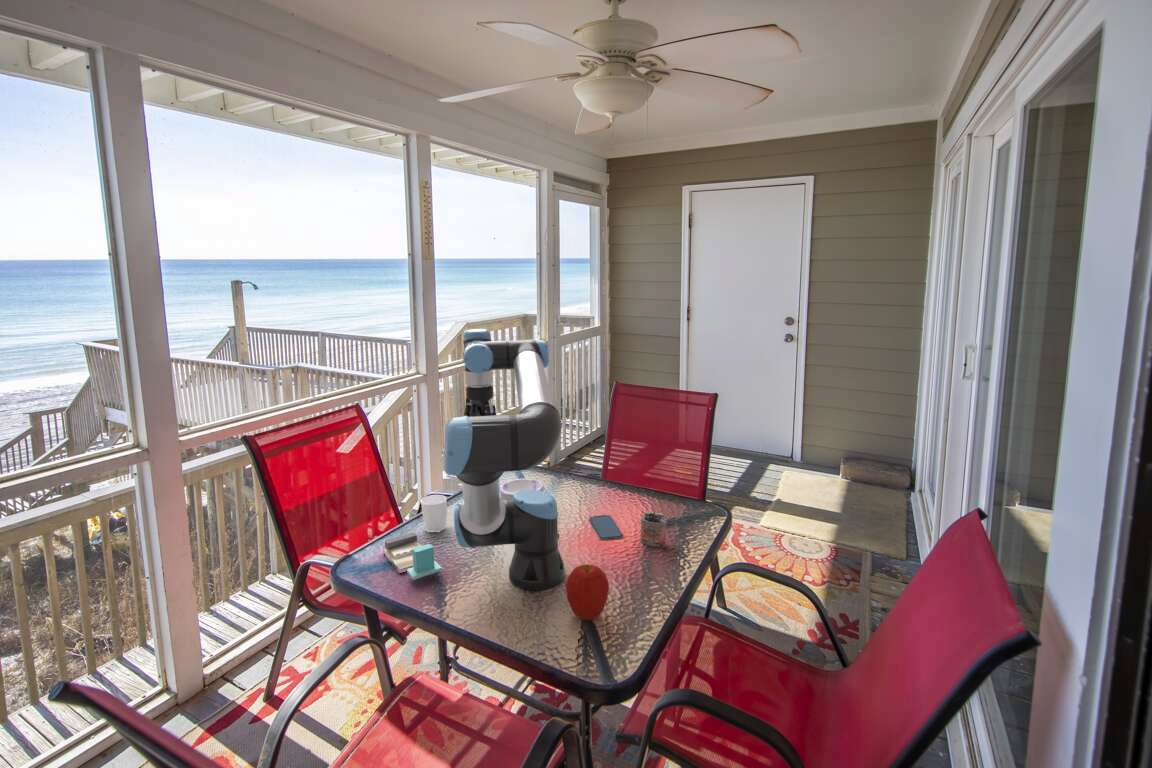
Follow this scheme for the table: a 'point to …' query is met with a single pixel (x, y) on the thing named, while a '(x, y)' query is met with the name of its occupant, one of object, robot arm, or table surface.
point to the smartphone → (605, 527)
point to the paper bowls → (519, 487)
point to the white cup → (434, 512)
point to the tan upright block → (653, 529)
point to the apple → (587, 591)
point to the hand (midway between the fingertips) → (482, 456)
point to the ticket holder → (401, 550)
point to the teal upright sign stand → (423, 562)
